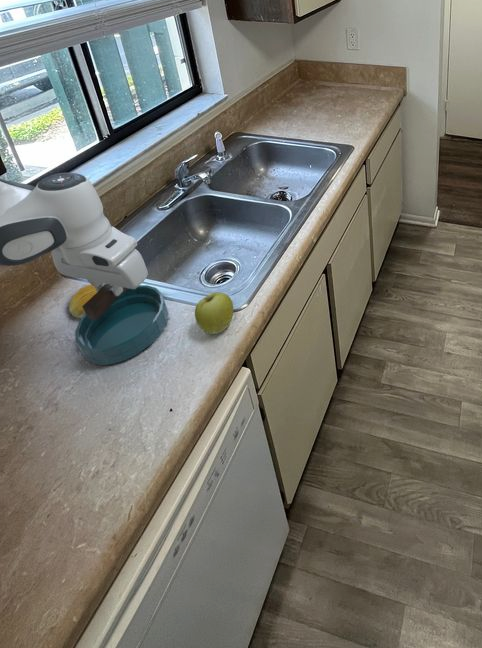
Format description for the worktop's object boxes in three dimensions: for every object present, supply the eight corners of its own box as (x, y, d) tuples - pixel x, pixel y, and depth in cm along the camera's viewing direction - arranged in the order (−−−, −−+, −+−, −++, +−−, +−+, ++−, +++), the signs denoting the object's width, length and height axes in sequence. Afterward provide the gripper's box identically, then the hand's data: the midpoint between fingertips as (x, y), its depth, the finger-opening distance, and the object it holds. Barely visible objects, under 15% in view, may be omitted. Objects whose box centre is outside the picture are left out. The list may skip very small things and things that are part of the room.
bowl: (71, 377, 91) (62, 361, 89) (96, 310, 106) (89, 296, 104) (162, 352, 96) (156, 337, 94) (173, 292, 110) (168, 277, 108)
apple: (239, 330, 99) (217, 303, 94) (206, 345, 98) (181, 319, 94) (242, 302, 106) (221, 276, 101) (211, 316, 105) (188, 290, 101)
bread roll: (105, 284, 113) (101, 273, 111) (114, 305, 107) (109, 293, 105) (67, 303, 108) (61, 291, 106) (75, 326, 102) (69, 314, 100)
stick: (96, 320, 91) (90, 308, 89) (87, 318, 91) (81, 306, 90) (137, 279, 100) (132, 267, 99) (129, 277, 101) (124, 266, 99)
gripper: (34, 247, 88) (59, 295, 94) (117, 262, 84) (138, 312, 90) (62, 226, 94) (84, 273, 100) (142, 240, 89) (160, 288, 95)
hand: (111, 291), depth 95 cm, fingers closed on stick, 2 cm apart
